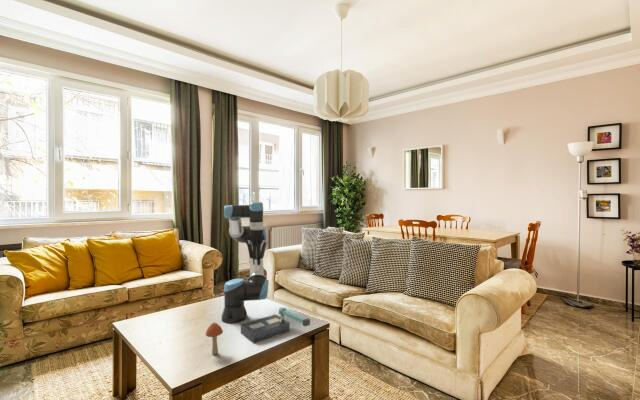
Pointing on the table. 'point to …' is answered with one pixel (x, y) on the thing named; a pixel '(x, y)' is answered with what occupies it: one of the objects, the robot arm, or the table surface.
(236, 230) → the robot arm
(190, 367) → the table surface
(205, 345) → the table surface
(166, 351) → the table surface
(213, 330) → the mushroom
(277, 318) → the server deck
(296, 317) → the green knobbed rod
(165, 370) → the table surface
